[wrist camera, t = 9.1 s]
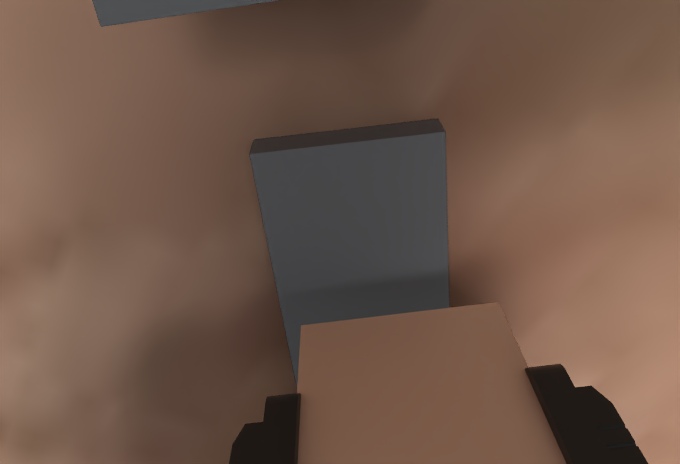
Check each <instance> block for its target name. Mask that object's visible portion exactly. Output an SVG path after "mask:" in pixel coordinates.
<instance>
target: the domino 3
mask: <svg viewBox="0 0 680 464" xmlns="http://www.w3.org/2000/svg"><path fill="white" fill-rule="evenodd" d="M525 368H528V366H527V364H526V362H525V359H524V357H523V355H522V353H521V351H520V348H519V346H518V344H517V342H516V340H515V337H514V335H513V333H512V331H511V329H510V326H509V324H508V322H507V320H506V318H505V315H504V313H503V311H502V309H501V307H500V304H499V302H493V303H485V304H476V305H468V306H460V307H451V308H443V309H435V310H426V311H418V312H409V313H401V314H393V315H384V316H376V317H367V318H359V319H351V320H342V321H334V322H326V323H317V324H309V325H301V334H300V350H299V367H298V384H297V393H300V394H301V405H300V425H299V445H298V464H566V461H565V459H564V457H563V455H562V452H561V450H560V448H559V446H558V443H557V441H556V439H555V437H554V434H553V432H552V430H551V428H550V425H549V423H548V421H547V419H546V416H545V414H544V412H543V410H542V407H541V405H540V403H539V401H538V398H537V396H536V394H535V392H534V389H533V387H532V385H531V383H530V380H529V378H528V376H527V374H526V371H525Z"/></svg>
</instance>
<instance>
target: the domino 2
mask: <svg viewBox="0 0 680 464" xmlns="http://www.w3.org/2000/svg"><path fill="white" fill-rule="evenodd" d="M250 159H251V164H252V169H253V174H254V179H255V184H256V189H257V194H258V199H259V204H260V209H261V214H262V219H263V224H264V228H265V233H266V238H267V243H268V248H269V253H270V258H271V263H272V268H273V273H274V278H275V283H276V288H277V293H278V298H279V302H280V307H281V312H282V317H283V322H284V327H285V332H286V337H287V342H288V347H289V352H290V357H291V362H292V367H293V372H294V376H295V381H296V386H297V384H298V367H299V350H300V334H301V325H309V324H317V323H326V322H334V321H342V320H351V319H359V318H367V317H376V316H384V315H393V314H401V313H409V312H418V311H426V310H435V309H443V308H449V266H448V222H447V177H446V132H445V130H444V128H443V126H442V125H441V123H440V121H439V119H429V120H421V121H412V122H403V123H394V124H386V125H377V126H368V127H359V128H351V129H342V130H333V131H325V132H316V133H307V134H298V135H290V136H281V137H272V138H263V139H255V140H254V142H253V145H252V148H251V151H250Z"/></svg>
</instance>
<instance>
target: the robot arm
mask: <svg viewBox="0 0 680 464" xmlns="http://www.w3.org/2000/svg"><path fill="white" fill-rule="evenodd" d="M525 371H526V374H527V376H528V378H529V380H530V383H531V385H532V387H533V389H534V392H535V394H536V396H537V398H538V401H539V403H540V405H541V407H542V410H543V412H544V414H545V416H546V419H547V421H548V423H549V425H550V428H551V430H552V432H553V434H554V437H555V439H556V441H557V443H558V446H559V448H560V450H561V452H562V455H563V457H564V459H565V461H566V464H648V462H647V461H646V459H645V457H644V456H643V454H642V452H641V451H640V449H639V447H638V446H636V444H635V441H634V439H633V437H632V436H631V434H630V432H629V431H628V429H626V428H625V424H624V422H623V421H622V419H621V417H620V416H619V414H618V412H617V410H616V409H615V407H614V405H613V404H612V403H611V402H610V401H609V400H608V399H607V398H605V397H604V396H603V395H602V394H601V393H599V392H598V391H597V390H596V389H594V388H593V387H592V386H585V387H576V388H575V387H574V385H573V383H572V381H571V379H570V377H569V375H568V374H567V372H566V370H565V368H564V367H563V366H562V365H561V364H555V365H546V366H537V367H529V368H525ZM300 405H301V394H300V393H296V394H287V395H278V396H270V397H267V399H266V405H265V413H264V421H263V422H259V423H250V424H245V425H244V427H243V429H242V430H241V432H240V433H239V435H238V437H237V438H236V440H235V441H234V443H233V445H232V450H231V456H230V462H229V464H298V445H299V425H300Z"/></svg>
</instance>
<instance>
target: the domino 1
mask: <svg viewBox="0 0 680 464" xmlns="http://www.w3.org/2000/svg"><path fill="white" fill-rule="evenodd" d="M92 1H93V4H94V7H95V10H96V13H97V17H98V20H99V23H100V26H101V27H103V26H110V25H116V24H123V23H130V22H136V21H143V20H150V19H157V18H163V17H170V16H177V15H184V14H190V13H197V12H204V11H210V10H217V9H224V8H231V7H237V6H244V5H251V4H257V3H264V2H271V1H278V0H92Z"/></svg>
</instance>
